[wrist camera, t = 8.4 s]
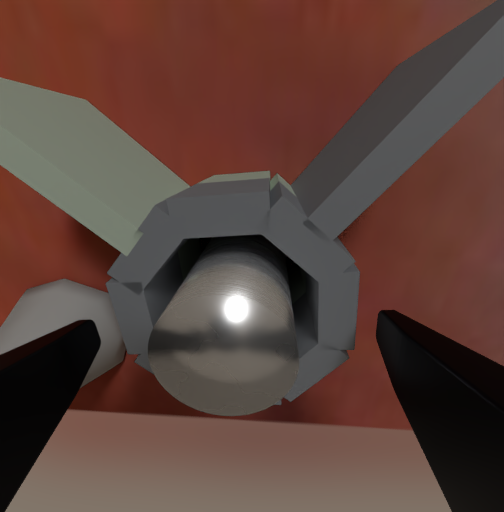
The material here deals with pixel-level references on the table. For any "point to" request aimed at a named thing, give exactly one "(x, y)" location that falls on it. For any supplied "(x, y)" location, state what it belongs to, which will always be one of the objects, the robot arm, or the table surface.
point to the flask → (65, 320)
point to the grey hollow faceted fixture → (316, 199)
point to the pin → (229, 330)
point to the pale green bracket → (96, 168)
